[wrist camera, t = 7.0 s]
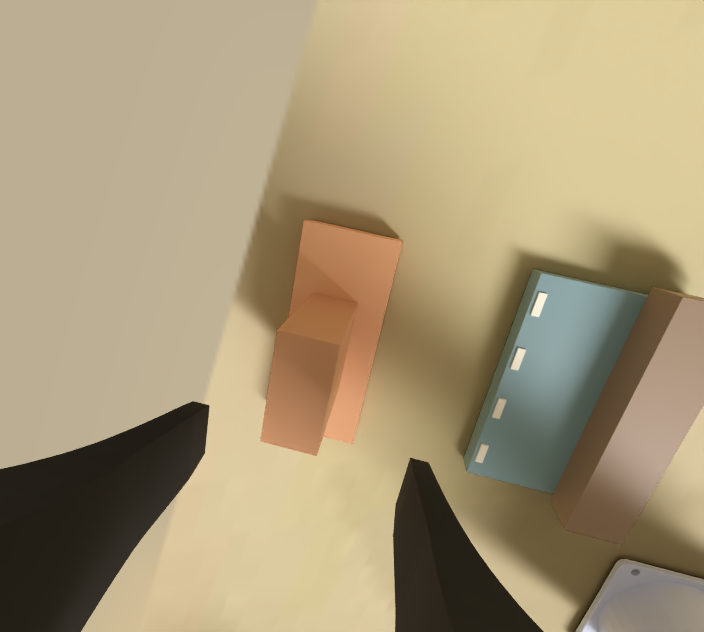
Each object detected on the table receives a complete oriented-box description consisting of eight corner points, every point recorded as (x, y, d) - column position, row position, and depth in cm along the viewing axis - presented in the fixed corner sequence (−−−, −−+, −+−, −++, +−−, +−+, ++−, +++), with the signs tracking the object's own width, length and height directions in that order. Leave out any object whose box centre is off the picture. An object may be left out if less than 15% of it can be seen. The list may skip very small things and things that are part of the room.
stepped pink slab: (402, 240, 19) (403, 260, 12) (355, 431, 23) (336, 529, 16) (309, 219, 19) (260, 228, 13) (278, 412, 23) (226, 499, 16)
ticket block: (698, 294, 18) (757, 313, 15) (591, 498, 22) (622, 544, 19) (536, 259, 19) (562, 270, 16) (461, 464, 23) (470, 505, 20)
